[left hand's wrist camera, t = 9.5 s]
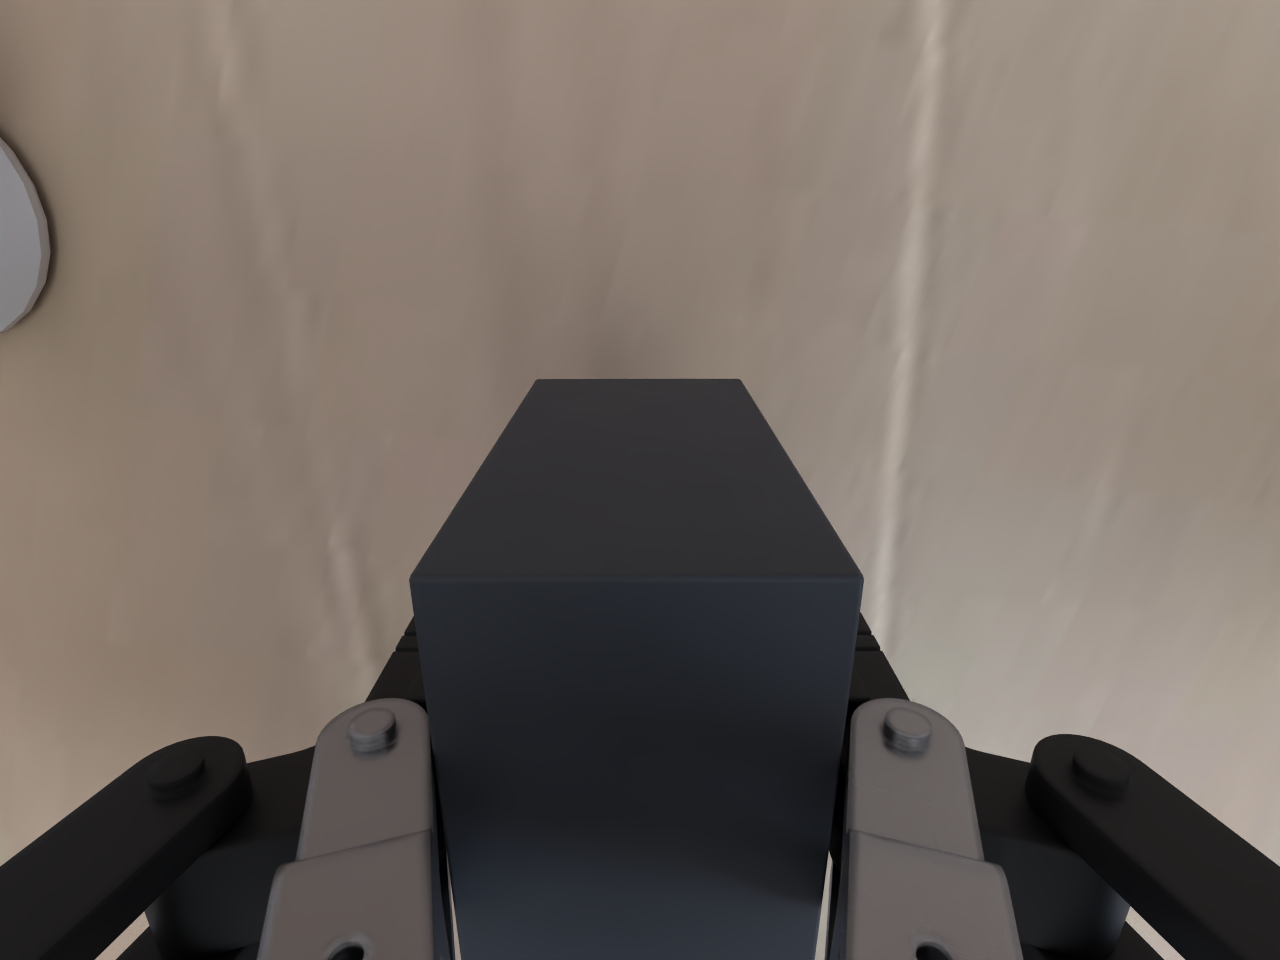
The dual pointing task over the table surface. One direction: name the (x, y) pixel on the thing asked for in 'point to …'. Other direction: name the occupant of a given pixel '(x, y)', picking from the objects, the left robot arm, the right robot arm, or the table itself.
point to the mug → (20, 241)
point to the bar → (637, 680)
